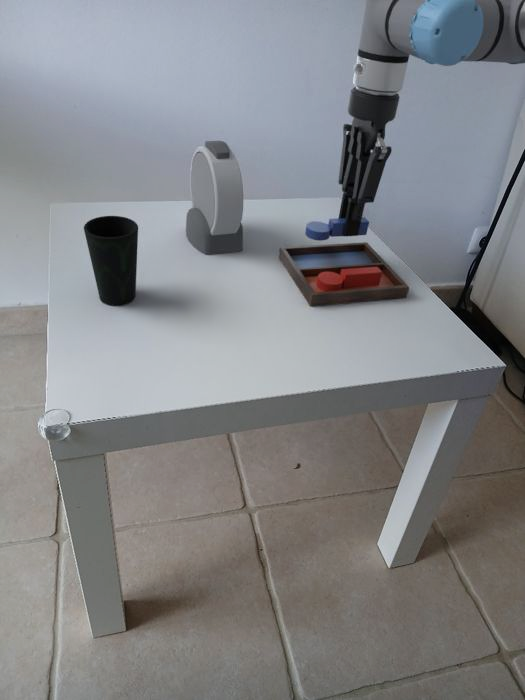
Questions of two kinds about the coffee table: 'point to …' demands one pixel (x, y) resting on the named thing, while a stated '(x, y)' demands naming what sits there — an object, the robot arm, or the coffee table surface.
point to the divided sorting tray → (333, 258)
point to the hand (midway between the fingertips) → (347, 231)
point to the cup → (113, 257)
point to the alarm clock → (215, 200)
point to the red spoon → (349, 278)
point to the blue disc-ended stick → (331, 228)
